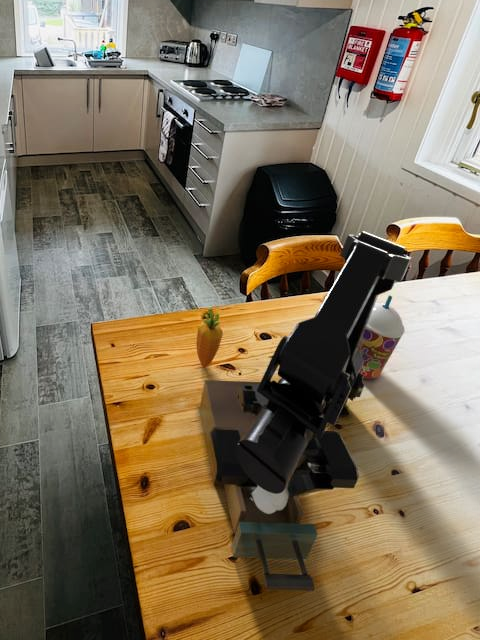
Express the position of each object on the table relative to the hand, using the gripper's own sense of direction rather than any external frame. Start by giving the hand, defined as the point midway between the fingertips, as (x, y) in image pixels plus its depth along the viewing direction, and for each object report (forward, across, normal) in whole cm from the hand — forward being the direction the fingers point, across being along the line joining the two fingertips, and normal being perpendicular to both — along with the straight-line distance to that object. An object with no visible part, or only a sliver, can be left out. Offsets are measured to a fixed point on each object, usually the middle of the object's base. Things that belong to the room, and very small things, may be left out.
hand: (268, 492), depth 57 cm
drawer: (+7, 0, +1) cm, 7 cm away
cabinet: (+8, 0, -11) cm, 13 cm away
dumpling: (+1, 0, 0) cm, 1 cm away
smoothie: (+8, -32, -28) cm, 43 cm away
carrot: (+8, +3, -27) cm, 28 cm away
